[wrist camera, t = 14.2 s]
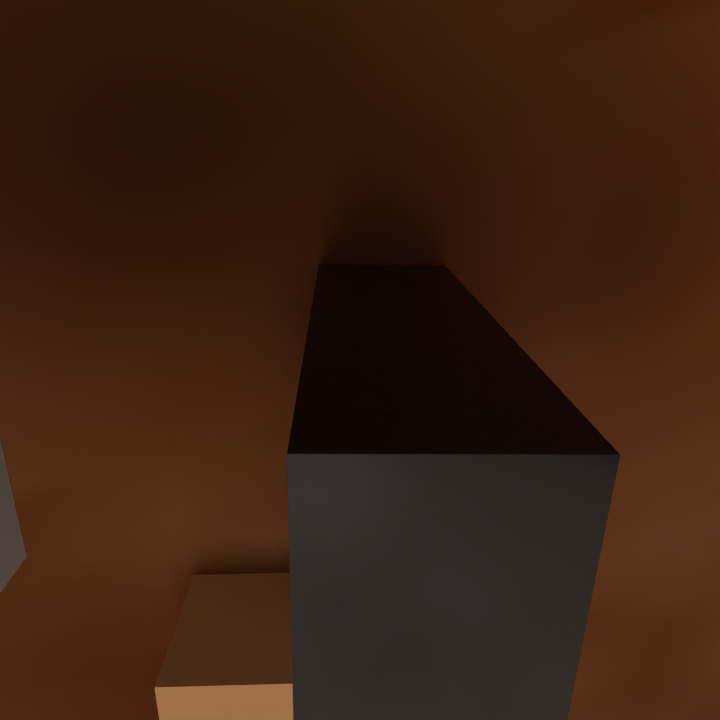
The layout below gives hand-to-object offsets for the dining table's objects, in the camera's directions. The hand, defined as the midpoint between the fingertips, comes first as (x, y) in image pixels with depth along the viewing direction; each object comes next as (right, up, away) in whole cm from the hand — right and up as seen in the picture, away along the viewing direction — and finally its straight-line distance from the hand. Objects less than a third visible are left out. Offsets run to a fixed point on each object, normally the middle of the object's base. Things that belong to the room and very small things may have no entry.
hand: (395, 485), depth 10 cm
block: (-5, -8, +13) cm, 16 cm away
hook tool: (-2, -4, +11) cm, 12 cm away
